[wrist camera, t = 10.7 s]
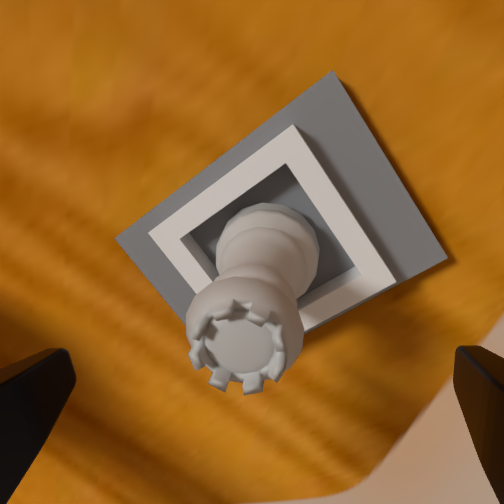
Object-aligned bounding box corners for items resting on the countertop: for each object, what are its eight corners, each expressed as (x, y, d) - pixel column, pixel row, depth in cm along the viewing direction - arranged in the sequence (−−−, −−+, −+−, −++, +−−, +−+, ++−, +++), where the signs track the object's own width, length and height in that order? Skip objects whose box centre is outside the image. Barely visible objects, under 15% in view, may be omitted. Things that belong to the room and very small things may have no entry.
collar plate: (230, 363, 20) (222, 391, 18) (124, 232, 18) (101, 246, 16) (439, 250, 16) (459, 268, 14) (331, 73, 15) (334, 65, 13)
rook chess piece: (228, 296, 18) (169, 425, 10) (213, 205, 16) (131, 275, 9) (323, 291, 17) (335, 425, 9) (315, 194, 15) (322, 261, 8)
